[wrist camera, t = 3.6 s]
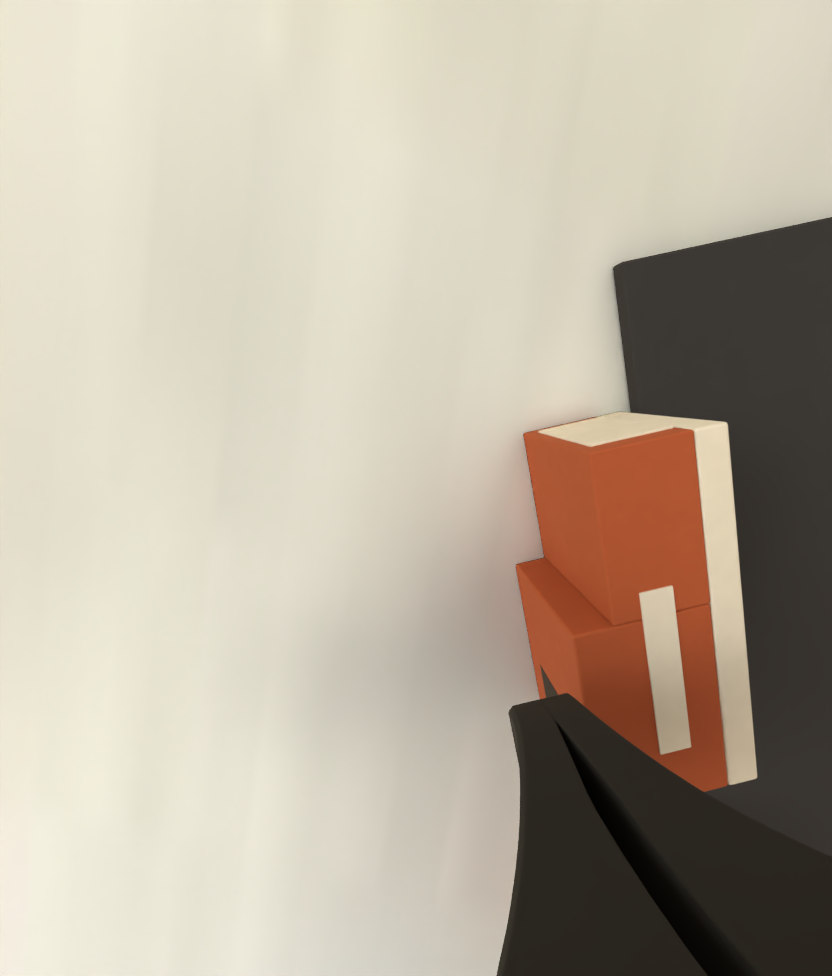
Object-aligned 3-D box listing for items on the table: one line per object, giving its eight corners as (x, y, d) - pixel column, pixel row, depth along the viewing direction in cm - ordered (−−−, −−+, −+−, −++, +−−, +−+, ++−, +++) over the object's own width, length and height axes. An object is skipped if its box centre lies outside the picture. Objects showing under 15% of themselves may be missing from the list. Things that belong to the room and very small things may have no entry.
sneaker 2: (539, 700, 18) (602, 820, 13) (491, 438, 16) (543, 461, 11) (654, 672, 18) (760, 781, 13) (620, 409, 16) (730, 418, 11)
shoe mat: (699, 974, 21) (710, 993, 20) (611, 266, 15) (622, 261, 14) (949, 908, 21) (967, 924, 21) (957, 192, 15) (982, 184, 15)
